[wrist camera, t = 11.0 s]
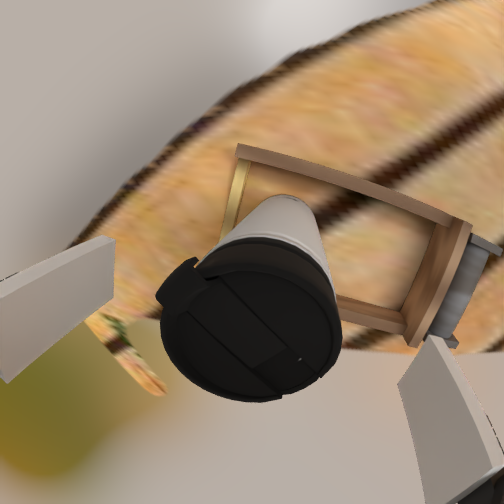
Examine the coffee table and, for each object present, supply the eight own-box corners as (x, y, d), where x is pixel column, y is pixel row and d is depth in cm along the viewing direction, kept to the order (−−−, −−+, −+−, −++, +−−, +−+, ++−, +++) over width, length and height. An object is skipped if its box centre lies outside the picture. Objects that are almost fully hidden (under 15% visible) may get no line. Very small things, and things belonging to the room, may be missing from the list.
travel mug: (284, 177, 26) (243, 205, 7) (328, 230, 27) (382, 369, 8) (236, 220, 28) (116, 326, 9) (280, 269, 29) (241, 437, 10)
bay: (244, 145, 26) (232, 141, 21) (481, 231, 23) (506, 243, 19) (215, 269, 30) (199, 288, 25) (437, 331, 28) (453, 355, 23)
